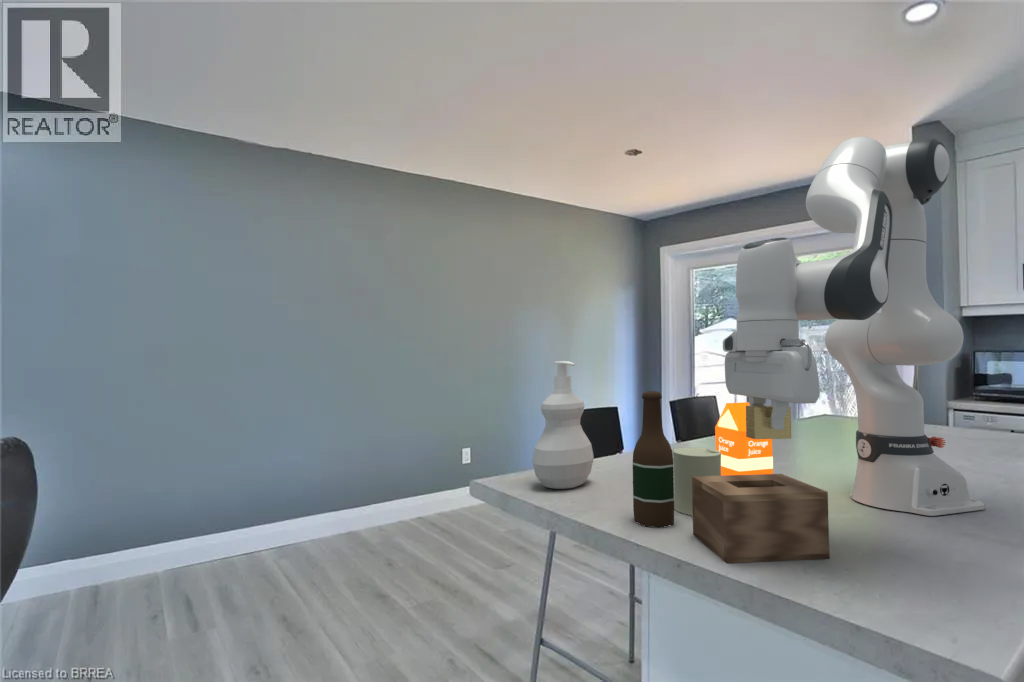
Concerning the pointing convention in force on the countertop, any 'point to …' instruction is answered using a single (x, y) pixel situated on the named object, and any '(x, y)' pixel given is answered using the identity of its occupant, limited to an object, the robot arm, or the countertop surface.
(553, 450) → the soap bottle
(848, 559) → the countertop surface
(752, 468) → the orange juice
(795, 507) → the coin box
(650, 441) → the beer bottle
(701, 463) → the can
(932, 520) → the countertop surface
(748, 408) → the wooden block
